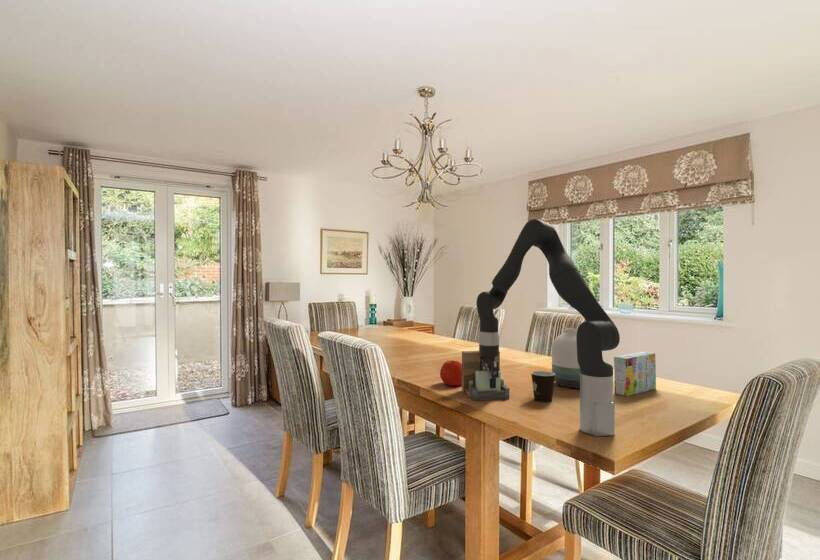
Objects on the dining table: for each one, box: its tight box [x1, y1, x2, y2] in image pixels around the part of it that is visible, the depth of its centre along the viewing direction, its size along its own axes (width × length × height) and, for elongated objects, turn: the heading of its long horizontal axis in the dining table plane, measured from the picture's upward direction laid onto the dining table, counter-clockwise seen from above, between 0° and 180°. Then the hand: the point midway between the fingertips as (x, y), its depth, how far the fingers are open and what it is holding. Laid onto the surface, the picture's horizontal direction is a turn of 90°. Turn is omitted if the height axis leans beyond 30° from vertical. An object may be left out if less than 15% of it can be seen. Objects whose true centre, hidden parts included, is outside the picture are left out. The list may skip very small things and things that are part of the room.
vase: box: [551, 327, 580, 389], centre depth 187 cm, size 17×17×24 cm
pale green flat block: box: [476, 371, 502, 392], centre depth 169 cm, size 3×9×10 cm, turn 99°
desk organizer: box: [461, 350, 510, 401], centre depth 173 cm, size 14×15×16 cm
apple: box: [439, 360, 462, 387], centre depth 189 cm, size 11×11×11 cm
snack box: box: [613, 351, 657, 397], centre depth 178 cm, size 21×6×15 cm, turn 122°
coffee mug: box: [531, 370, 555, 403], centre depth 167 cm, size 12×9×10 cm
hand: (488, 385), depth 169 cm, fingers open, 8 cm apart
